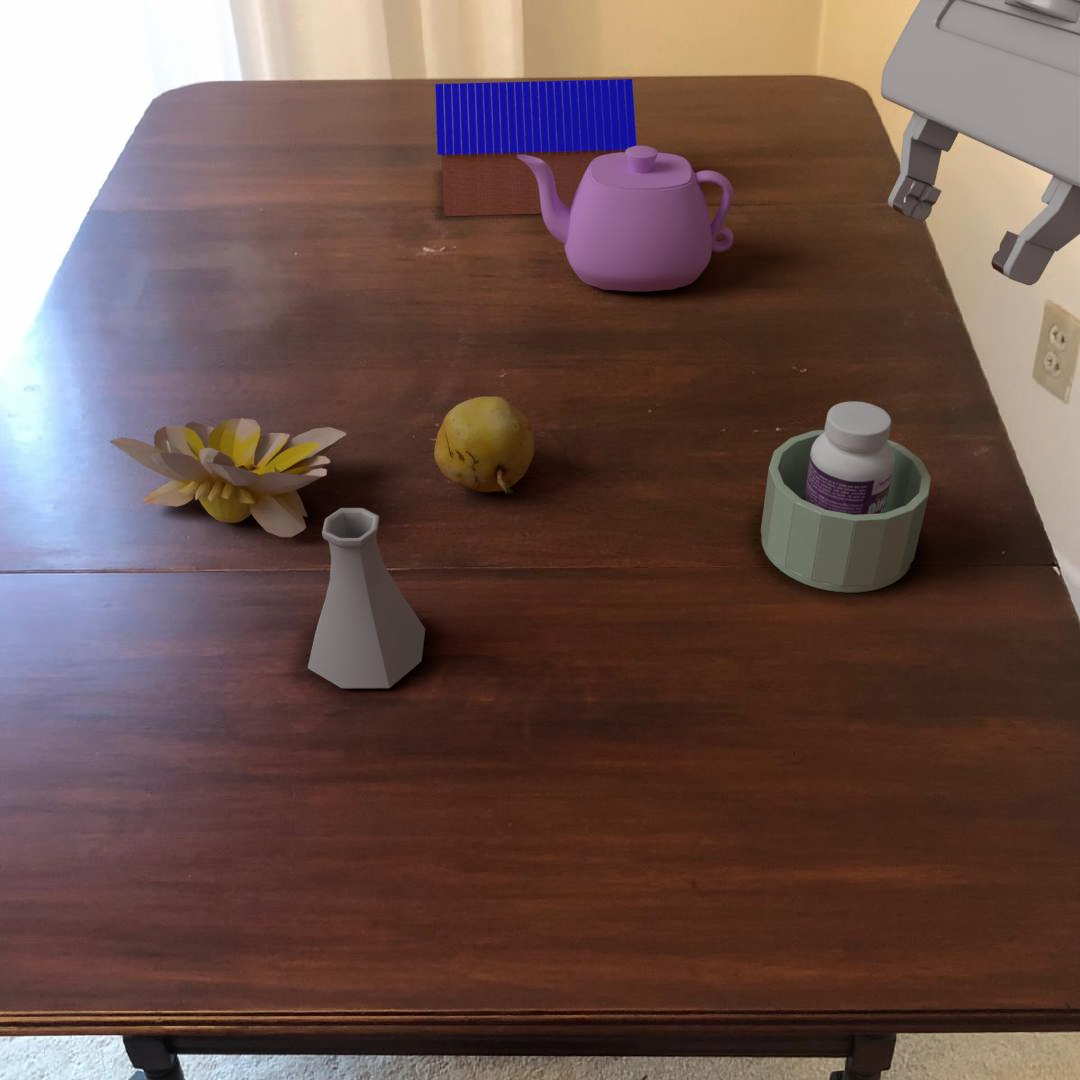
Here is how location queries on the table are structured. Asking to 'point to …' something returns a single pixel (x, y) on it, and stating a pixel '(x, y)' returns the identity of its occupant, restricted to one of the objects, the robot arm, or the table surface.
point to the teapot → (636, 220)
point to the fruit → (484, 444)
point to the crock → (841, 524)
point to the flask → (363, 611)
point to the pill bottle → (851, 461)
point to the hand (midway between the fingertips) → (954, 244)
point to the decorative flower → (236, 470)
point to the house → (525, 139)
